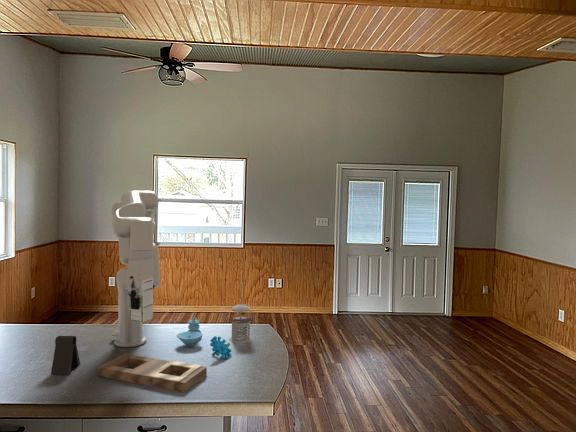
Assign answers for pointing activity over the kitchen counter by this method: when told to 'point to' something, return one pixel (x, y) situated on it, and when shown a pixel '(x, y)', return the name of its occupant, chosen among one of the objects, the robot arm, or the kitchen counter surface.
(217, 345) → the gear
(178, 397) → the kitchen counter surface
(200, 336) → the light blue rounded piece
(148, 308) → the syrup box
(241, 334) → the french press
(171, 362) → the tray
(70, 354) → the phone stand
